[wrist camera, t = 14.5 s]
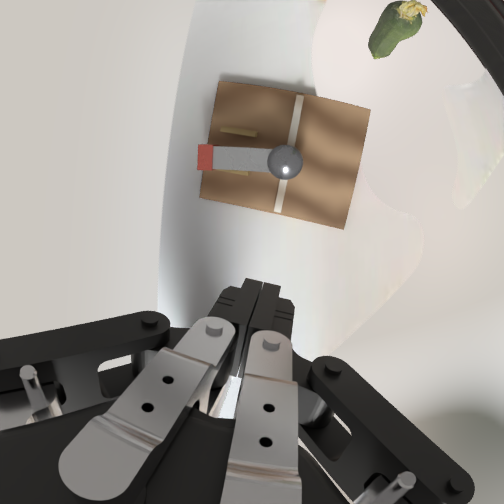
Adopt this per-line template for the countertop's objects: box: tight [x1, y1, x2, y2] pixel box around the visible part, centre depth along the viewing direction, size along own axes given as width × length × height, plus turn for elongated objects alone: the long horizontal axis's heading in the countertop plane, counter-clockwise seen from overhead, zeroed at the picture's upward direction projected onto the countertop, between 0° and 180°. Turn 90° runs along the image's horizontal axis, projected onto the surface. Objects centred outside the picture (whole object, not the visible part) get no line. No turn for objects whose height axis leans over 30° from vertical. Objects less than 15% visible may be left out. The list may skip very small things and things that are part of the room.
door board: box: [199, 81, 370, 230], centre depth 43 cm, size 18×22×3 cm
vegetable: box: [368, 0, 427, 59], centre depth 27 cm, size 4×4×20 cm
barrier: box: [431, 0, 504, 96], centre depth 27 cm, size 24×9×10 cm, turn 41°
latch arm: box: [197, 144, 303, 180], centre depth 40 cm, size 14×4×3 cm, turn 87°
